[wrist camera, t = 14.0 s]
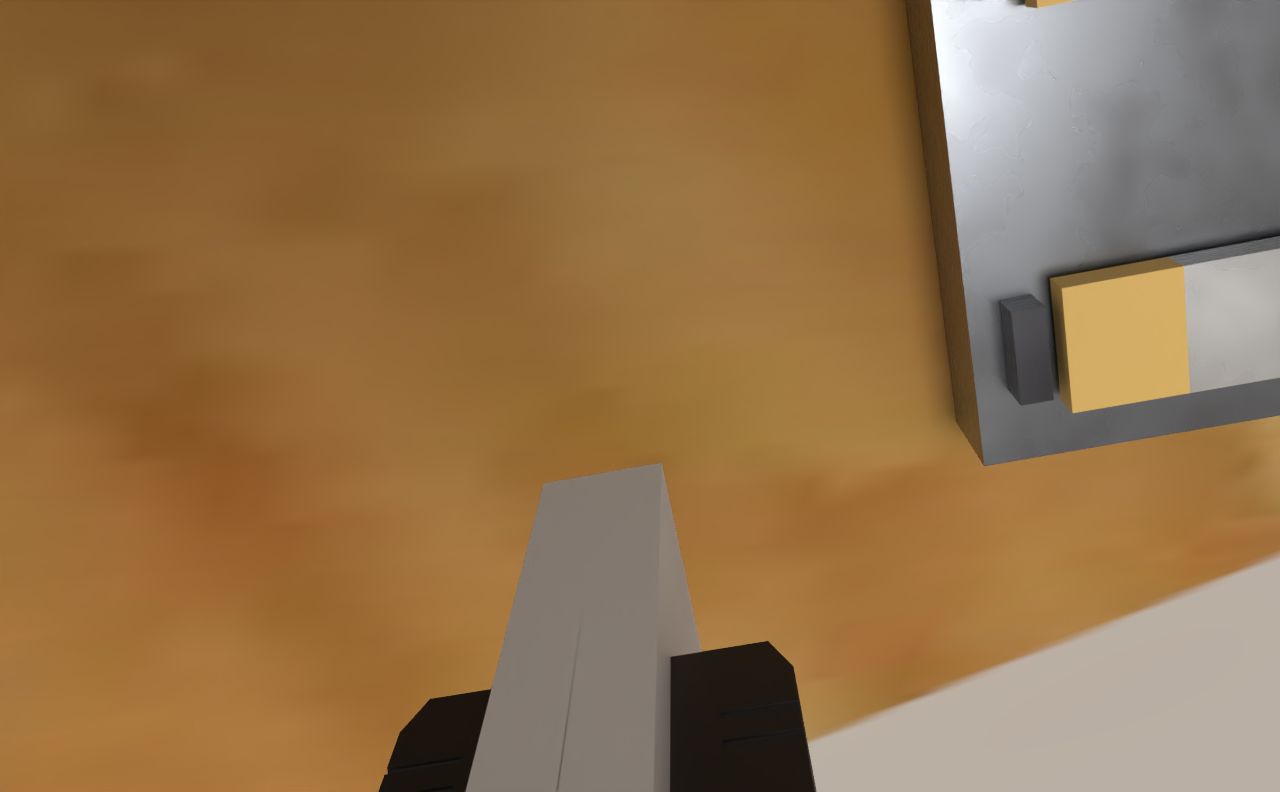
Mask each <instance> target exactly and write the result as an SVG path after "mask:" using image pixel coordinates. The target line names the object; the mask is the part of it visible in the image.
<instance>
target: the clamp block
mask: <svg viewBox="0 0 1280 792" xmlns="http://www.w3.org/2000/svg"><path fill="white" fill-rule="evenodd" d="M905 2H906V10H907V19H908V27H909V35H910V43H911V51H912V60H913V68H914V76H915V84H916V93H917V101H918V109H919V117H920V125H921V134H922V142H923V150H924V158H925V166H926V175H927V183H928V191H929V199H930V207H931V216H932V224H933V232H934V240H935V248H936V257H937V265H938V273H939V281H940V290H941V298H942V306H943V314H944V322H945V331H946V339H947V347H948V355H949V363H950V372H951V380H952V388H953V396H954V404H955V413H956V421H957V423H958V425H959V427H960V428H961V430H962V431H963V433H964V435H965V436H966V438H967V439H968V441H969V443H970V444H971V446H972V447H973V449H974V450H975V452H976V454H977V455H978V457H979V458H980V460H981V462H982V463H983V465H984V466H988V465H994V464H1000V463H1005V462H1011V461H1017V460H1023V459H1029V458H1034V457H1040V456H1046V455H1052V454H1058V453H1064V452H1069V451H1075V450H1081V449H1087V448H1093V447H1098V446H1104V445H1110V444H1116V443H1122V442H1128V441H1133V440H1139V439H1145V438H1151V437H1157V436H1162V435H1168V434H1174V433H1180V432H1186V431H1191V430H1197V429H1203V428H1209V427H1215V426H1221V425H1226V424H1232V423H1238V422H1244V421H1250V420H1255V419H1261V418H1267V417H1273V416H1279V415H1280V378H1275V379H1269V380H1263V381H1257V382H1252V383H1246V384H1240V385H1234V386H1228V387H1223V388H1217V389H1211V390H1205V391H1199V392H1194V393H1188V394H1182V395H1176V396H1170V397H1165V398H1159V399H1153V400H1147V401H1141V402H1136V403H1130V404H1124V405H1118V406H1112V407H1107V408H1101V409H1095V410H1089V411H1083V412H1078V413H1072V412H1071V411H1070V410H1069V409H1068V408H1067V406H1066V405H1065V404H1064V403H1063V402H1062V401H1061V397H1060V386H1059V375H1058V363H1057V352H1056V341H1055V330H1054V319H1053V308H1052V297H1051V286H1050V278H1055V277H1060V276H1066V275H1071V274H1077V273H1082V272H1088V271H1093V270H1098V269H1104V268H1109V267H1115V266H1120V265H1126V264H1131V263H1137V262H1142V261H1147V260H1153V259H1158V258H1164V257H1169V256H1175V255H1180V254H1185V253H1191V252H1196V251H1202V250H1207V249H1213V248H1218V247H1224V246H1229V245H1234V244H1240V243H1245V242H1251V241H1256V240H1262V239H1267V238H1273V237H1278V236H1280V0H1075V1H1070V2H1065V3H1060V4H1055V5H1050V6H1046V7H1041V8H1031V7H1025V0H905Z"/></svg>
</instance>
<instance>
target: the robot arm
mask: <svg viewBox="0 0 1280 792" xmlns="http://www.w3.org/2000/svg"><path fill="white" fill-rule="evenodd" d="M387 769H388V774H387V775H384V778H383V781H382V784H381V786H380V789H379V792H816V787H815V782H814V776H813V770H812V765H811V759H810V755H809V749H808V743H807V738H806V732H805V727H804V721H803V716H802V711H801V705H800V700H799V694H798V689H797V683H796V678H795V673H794V667H793V666H792V665H791V664H790V663H789V662H788V661H787V660H786V659H785V658H784V657H783V656H782V655H781V654H780V653H779V652H778V651H777V650H776V649H775V648H774V647H773V646H772V645H771V644H770V643H769V642H768V641H765V642H759V643H753V644H747V645H741V646H734V647H728V648H722V649H716V650H710V651H703V652H702V651H701V646H700V641H699V636H698V632H697V627H696V622H695V618H694V613H693V608H692V604H691V599H690V594H689V590H688V585H687V580H686V575H685V571H684V566H683V561H682V557H681V552H680V547H679V543H678V538H677V533H676V529H675V524H674V519H673V514H672V510H671V505H670V500H669V496H668V491H667V486H666V482H665V477H664V472H663V468H662V463H657V464H652V465H646V466H640V467H635V468H629V469H623V470H618V471H612V472H606V473H601V474H595V475H589V476H584V477H578V478H572V479H567V480H561V481H555V482H550V483H544V485H543V489H542V493H541V497H540V500H539V504H538V508H537V512H536V516H535V520H534V524H533V528H532V532H531V536H530V540H529V544H528V548H527V552H526V556H525V559H524V563H523V567H522V571H521V575H520V579H519V583H518V587H517V591H516V595H515V599H514V603H513V607H512V611H511V615H510V618H509V622H508V626H507V630H506V634H505V638H504V642H503V646H502V650H501V654H500V658H499V662H498V666H497V670H496V674H495V678H494V681H493V685H492V689H490V690H483V691H477V692H471V693H465V694H459V695H452V696H446V697H440V698H434V699H430V700H429V701H428V702H427V703H426V704H425V705H424V706H423V708H422V709H421V710H420V711H419V712H418V713H417V714H416V715H415V716H414V718H413V719H412V720H411V721H410V722H409V723H408V724H407V725H406V726H405V728H404V729H403V730H402V731H401V732H400V734H399V736H398V739H397V742H396V745H395V748H394V750H393V753H392V756H391V759H390V761H389V764H388V767H387Z"/></svg>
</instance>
